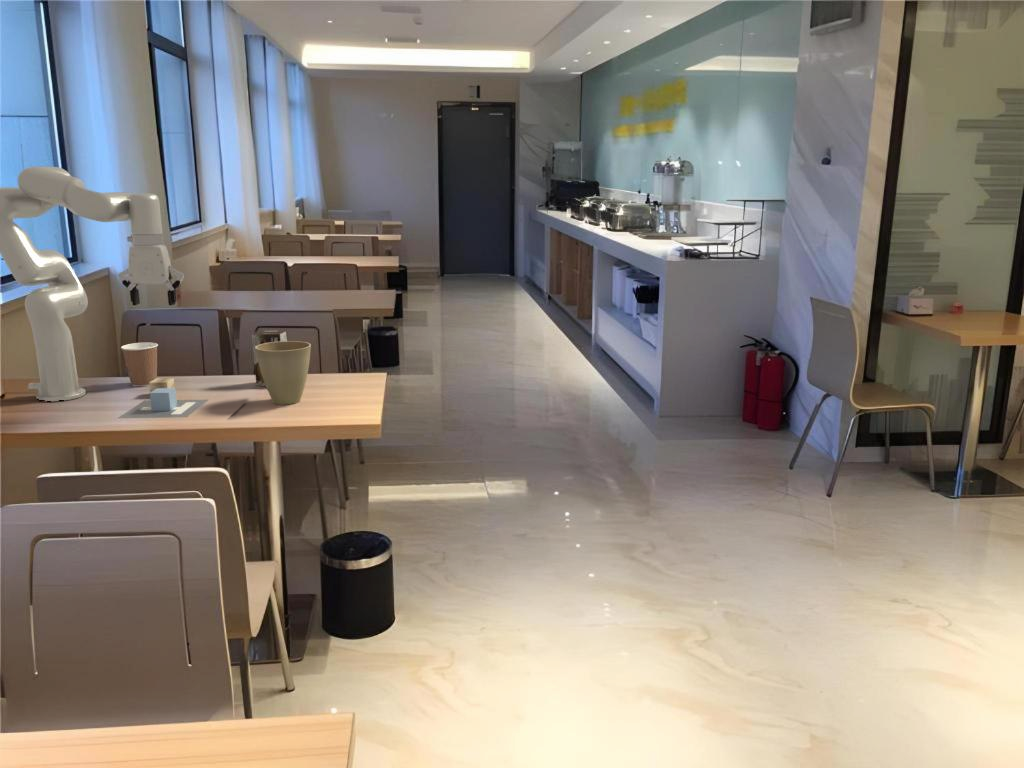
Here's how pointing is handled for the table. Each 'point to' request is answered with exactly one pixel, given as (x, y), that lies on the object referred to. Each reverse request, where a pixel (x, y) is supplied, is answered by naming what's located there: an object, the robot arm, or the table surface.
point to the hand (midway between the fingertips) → (154, 304)
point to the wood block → (161, 383)
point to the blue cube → (163, 399)
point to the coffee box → (262, 338)
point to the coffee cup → (141, 362)
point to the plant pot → (284, 369)
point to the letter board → (180, 410)
